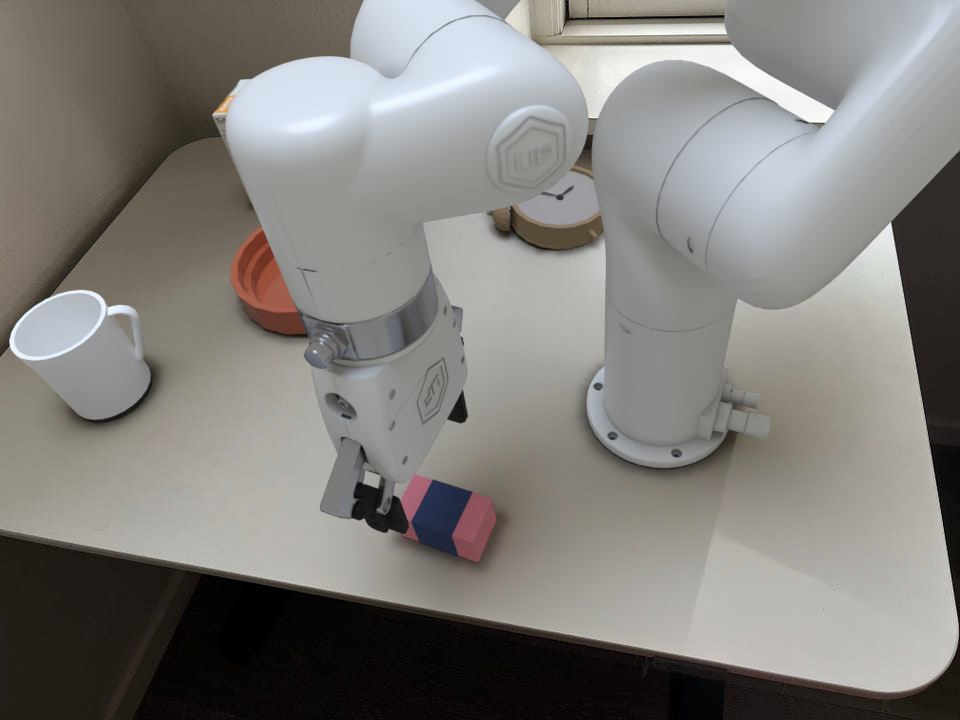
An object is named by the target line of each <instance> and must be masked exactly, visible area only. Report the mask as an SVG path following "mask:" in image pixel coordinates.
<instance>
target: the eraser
mask: <svg viewBox="0 0 960 720" xmlns="http://www.w3.org/2000/svg"><path fill="white" fill-rule="evenodd" d="M400 501H401V503H402V506H403V509H404V512H405V514H406V517H407V520H408V522H409V524H408V525H409V528H408V530H407V532H406V534H401V533H400V535H401V536H402V537H405V538H407V539H410V540H413V541H415V542H419V544H422V545H425V546H428V547H431V548H433V549H436V550H439V551H442V552H444V553H447V554H449V555H453V556H456V557H459V558H463V559H466V560H469V561H471V562H474V563H479V562H480V559H481V558H482V555H483V553H484V550H485V548H486V546H487V543H488V541H489V540H490V536H491V535H492V532H493V530H494V527H495V526H496V524H497V521H498V519H497V514H496V510H495V506H494V501H493V499H492V498H491V497H488V496H485V495H481V494H478V493H475V492H473V491H471V490H468V489H465V488H462V487H459V486H455V485H452V484H449V483H446V482H443V481H440V480H437V479H432V478H428V477H426V476H423V475H419V474H416V473H415V474H414V475H413V476H412V477H411V478H410V481H409V483H408V485H407V487H406V489H405V490H404V492H403V494H402V496H401V498H400Z"/></svg>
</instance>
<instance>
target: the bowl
mask: <svg viewBox="0 0 960 720" xmlns="http://www.w3.org/2000/svg"><path fill="white" fill-rule="evenodd" d="M230 284H231V286H232V288H233V289H234V290H235V293H236V295H237V297H238V298H239V300H240V302H241V305H242V306H243V307H244V310H245V311H246V314H247V315H248V317H249V318H250V319H251V320H252V321H254V322H256V323H257V324H258V325H260V326H261V327H263V328H264V329H266V330H269V331H273V332H276V333H279V334H284V335H307V334H306V331H305V329H304V326H303V324H302V322H301V319H300V317H299V314H298V312H297V310H296V307H295V305H294V303H293V300H292V298H291V296H290V293H289V291H288V288H287V286H286V284H285V281H284V279H283V276H282V274H281V272H280V269H279V267H278V264H277V262H276V260H275V257H274V255H273V252H272V250H271V248H270V245H269V243H268V240H267V238H266V236H265V233H264V231H263V229H262V226H261V225H260V226H259V227H258V228H256V229H255V230H254V231H252V233H250V235H248V237H246V239H245V240H244V241H243V243H241V245H240V246H239V247H238V248H237V250H236V252H235V254H234V257H233V259H232V261H231V263H230Z"/></svg>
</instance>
